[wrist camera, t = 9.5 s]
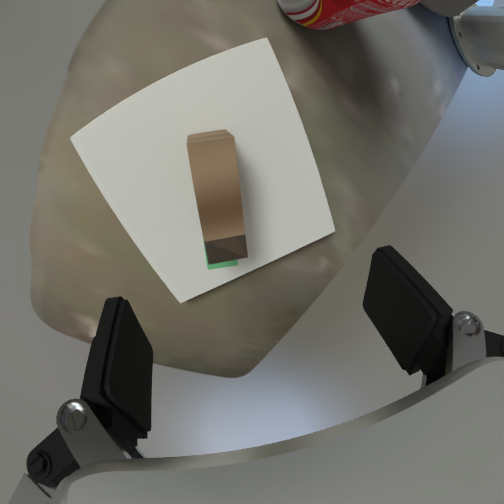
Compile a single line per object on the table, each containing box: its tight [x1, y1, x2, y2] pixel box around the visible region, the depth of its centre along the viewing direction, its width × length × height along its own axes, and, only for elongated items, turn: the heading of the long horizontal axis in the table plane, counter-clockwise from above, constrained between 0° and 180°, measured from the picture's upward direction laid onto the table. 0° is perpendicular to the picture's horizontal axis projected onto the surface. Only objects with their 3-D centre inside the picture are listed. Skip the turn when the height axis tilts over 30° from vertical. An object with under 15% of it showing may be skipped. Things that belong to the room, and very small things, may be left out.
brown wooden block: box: [187, 129, 248, 265], centre depth 20 cm, size 9×3×5 cm, turn 5°
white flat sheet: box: [70, 38, 335, 303], centre depth 23 cm, size 18×20×2 cm
